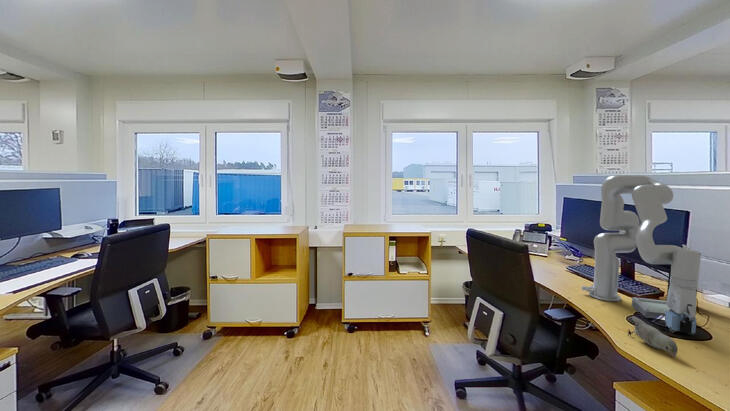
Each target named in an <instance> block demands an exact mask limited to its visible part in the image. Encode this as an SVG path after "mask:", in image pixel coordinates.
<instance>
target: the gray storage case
mask: <svg viewBox="0 0 730 411" xmlns="http://www.w3.org/2000/svg"><path fill="white" fill-rule="evenodd" d="M684 314H688V313H684ZM684 317H685V318H686V317H688V316H684ZM680 321H682V320H681V314H677V313H676V312H672V311H666V315H665V321H664V323H665V322H666V324H667V326H668V328H669V329H668V331H669V330H672V331H678V332H680V331H679V329H680ZM696 329H697V318H695V319H694V321H693V324H692V331H691V334H696V335H697V331H696Z"/></svg>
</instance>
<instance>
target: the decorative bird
mask: <svg viewBox="0 0 730 411" xmlns="http://www.w3.org/2000/svg"><path fill="white" fill-rule="evenodd" d="M631 319H632V321H633V322H634V330H633V331H630V328H628V332H627V334H628V335H627V337H628V336H629V337H632V336H637V337H639V338H640V339H641V340H643V341H644V342H645V343H646V344H647V345H649V346H650V347H652V348H655V349H658V350H664V351H665V352H667V354H668V355H669V356H670V357H672V359H675V358H676V356H677V354H678V345H677V343H676V342H675V340H674V339H673V338H671V337H670V336H668V335H666V334H664V333H662V332H661V330H659V329H657V328H655V327H654V326H652V325H650V324H648V323H646V322H644V321H643V320H642V319H640V318H638V317H636V316H635V315H632V316H631ZM633 334H635V335H633Z"/></svg>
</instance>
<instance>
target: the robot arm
mask: <svg viewBox="0 0 730 411" xmlns="http://www.w3.org/2000/svg"><path fill="white" fill-rule="evenodd" d="M600 191H601V192H600V193H601V208H600V218H599V226H600V227H601V228H602V229H603V230H604V231H605V230H606V231H613V232H602V233H599V234H597V235H595V237H594V238H593V246H594V271H593V272H594V273H593V284H591V286H586V285H585V286H584V285H582V286H581V291H585V292H587V293H588V295H589V296H590V297H592V298H594V299H597V300H601V301H606V302H620V301H621V300H622V297H621V296H620V295H618V287H619V272H620V260H619V258H618V256H617V255H616V254H618V253H619V254H621V253H622V254H624V253H626V254H627V253H632V252H634V251H635V250H636V248H637V249H638V253H639V256H640V258H641V259H642V260H643V261H644V262H645V263H647V264H650V265H670V264H672V265H671V276H670V286H669V290H668V289H667V290H668V296H667V295H666V301H667V306H668V307H669V308H670V310H669V311H672V312H676V313H677V314H681V320H682V321H680V329H679V331H678V332H680V333H683V334H688V333H689V334H691V331H692V324H693V321H694V319H695V318H696V316H695V314H696V311H697V310H696V309H697V296H696V289H697V290H698V289H699V277H700V268H701V255H700V253H701V252H699V251H697V250H692V249H689V250H688V249H683V247H681V246H678V245H673V244H656V243H655V241H654V239H653V232H654V231H655V230H654V229H655V228H656V227H657V226H659V225H661V224H664V223H665V222H667V220H668V216H667V213H666V210H665V208H664V205H668V204H670V203H671V202H672V201H673V199H674V191H673V190H672V189H671V187H670V186H668V185H666V184H665V183H662V182H660V181H658V180H656V179H655V178H651V177H649V176H647V175H636V174H635V175H634V174H633V175H629V174H623V175H622V174H620V175H612V176H608V177H607V178H605V180H603V182H602V184H601V187H600ZM625 194H626V195H631V198H632V201H633V203H634V207H635V209H636V212H637V214H636V212H633V211H631V210H624V207H625V202H624V199H623V197H622V195H625ZM614 231H619V232H614ZM684 312H685V313H688V314H684ZM684 316H688V317H686V318H685V317H684ZM696 319H697V318H696ZM689 334H688V335H689Z"/></svg>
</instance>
